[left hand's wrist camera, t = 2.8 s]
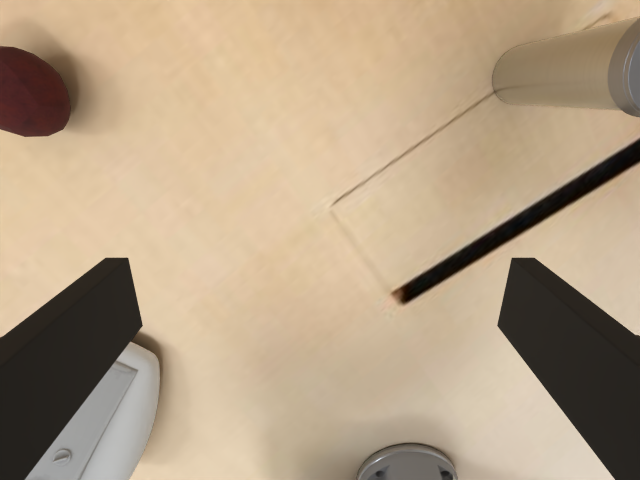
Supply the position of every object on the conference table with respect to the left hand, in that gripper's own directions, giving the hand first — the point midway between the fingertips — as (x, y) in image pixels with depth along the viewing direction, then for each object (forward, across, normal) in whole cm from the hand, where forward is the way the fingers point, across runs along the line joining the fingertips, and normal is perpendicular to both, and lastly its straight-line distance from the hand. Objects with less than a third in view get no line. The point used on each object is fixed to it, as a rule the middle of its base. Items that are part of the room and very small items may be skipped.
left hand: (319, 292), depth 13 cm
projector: (+28, +30, +32) cm, 52 cm away
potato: (+28, +27, -6) cm, 39 cm away
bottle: (+28, -20, -8) cm, 35 cm away
